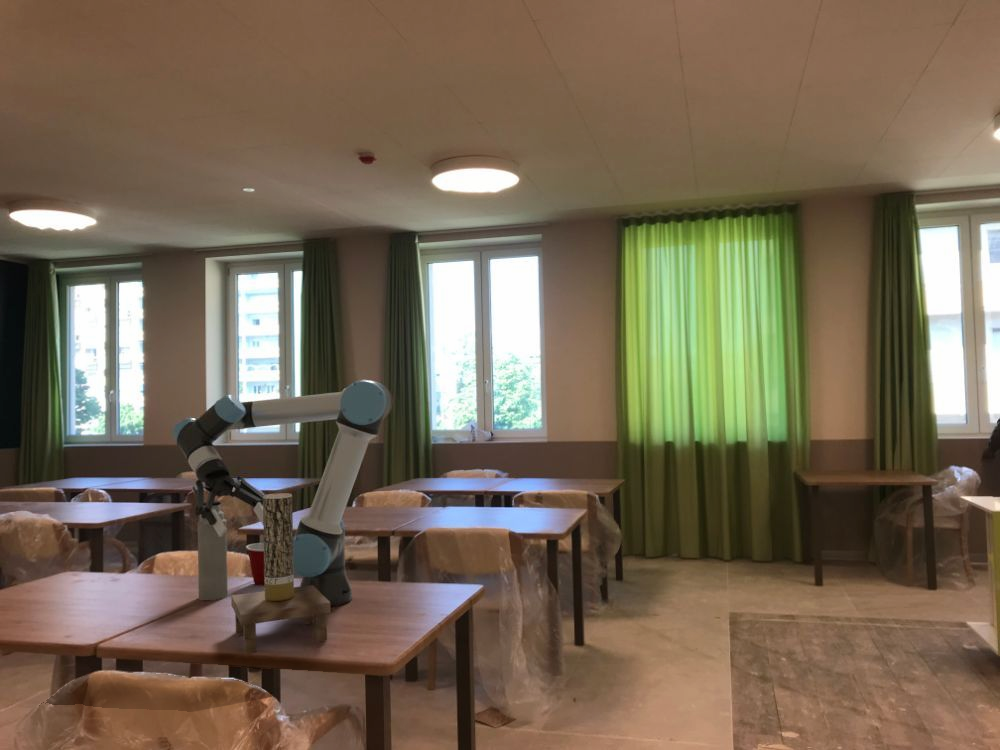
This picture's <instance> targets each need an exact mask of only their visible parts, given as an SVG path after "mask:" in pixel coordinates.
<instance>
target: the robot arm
mask: <svg viewBox="0 0 1000 750" xmlns="http://www.w3.org/2000/svg"><path fill="white" fill-rule="evenodd" d="M392 407H393V397H392V393H391V391H390V389H389V388H388V387H387V386H386V385H385V384H383V383H381V382H378V381H374V380H369V379H359V380H356V381H354V382H352V383H351V384H350V385H348V386H347V387H345V388H343V390H342V391H339V392H327V393H321V394H312V395H311V394H309V395H302V396H301V395H299V396H291V397H282V398H273V399H272V398H271V399H263V400H253V401H240V400H239V399H238V398H237V397H235V396H234V395H232V394H225V395H224V396H223V397H221V398H219V399H218V400H217V401H216V402H215V403H214V404H213V405H211V407H210V408H208V409H207V410H206V411H204V413H203V414H201V415H200V416H199V417H198V418H194V417H187V418H184V419H183V420H180V421H178V422H177V423H176V424H175V425H174V427H173V428H172V433H171V434H172V436H173V439H174V440H175V443H176V446H177V447H178V448H179V449H180V452H181V453H182V454H183V455H184V457H185V459H186V461H187V463H188V464H189V467H190V468H191V470H192V471H193V473H194V474H195V476H196V478H197V479H196V481H195V483H194V485H193V486H192V489H193V492H194V514H195V516H200V514H201V517H202V518H203V519H205V518H206V519H207V520H208V522H209V524H210V525H213V527H214V528H215V530H216V532H217V534H218V535H219V537H222V536H223V534H224V533H225V531H226V530H227V531H228V528H226V527H225V525H224V523H223V522H222V520H221V518H220V517H219V515H218V513H217V512H216V510H215V509H213V510H212V511H211V508H212V505H213V503H214V501H215V500H216V497H219V498H220V497H222V496H224V497H226V496H230V497H232V498H236V499H239V500H241V501H242V502H245V504H248V505H249V506H251V507H253V509H252V511H254V513H255V515H256V516H257V517H258V519H259V522H260V523H261V524H262V526H263V527H264V525H263V495H264V494H263V493H262V492H260V491H259V490H258V489H256V488H255V487H254V486H252V485H251V484H250V483H249V482H248V481H247V480H246V479H244V477H243V476H242V475H238V476H237V477H236V478H235V477H234V478H233V477H231V476H230V475H231V474H230V472H229V468H228V466H227V465H226V463H225V462H224V461H223V460H222V459H223V458H222V457H221V456H220V454H219V453H218V451H217V449H216V448H215V445H214V444H213V443H214V442H216V440H218V439H219V438H220V437H221V436H223V435H224V434H225V433H227V431H231V430H232V431H233V430H245V429H251V428H253V429H254V428H260V427H271V426H281V425H292V424H299V423H300V424H301V423H308V422H310V423H311V422H319V421H320V422H321V421H329V420H330V421H331V420H335V423H336V425H337V427H338V433H336V434H337V435H336V438H335V440H334V442H333V446H332V448H331V451H330V454H329V457H328V458H327V459H328V460H327V462H326V465H325V467H324V470H323V474H322V476H321V479H320V482H319V485H318V487H317V490H316V493H315V494H314V495H315V496H314V498H313V501H312V503H311V506H310V509H309V512H308V514H307V515H304V516H302V517H301V518H300V519H299V523H298V526H297V528H296V531H295V534H294V535H293V566H294V574H296V575H297V576H300V577H302V579H301V582H300V586H299V587H301V586H309V585H313V586H314V587H315V588H316V589H317V590H318V591H319V592H320V593H321V594H322V595H323V596H324V597H325V598H326V599H327V600H328V601H329V602H330V607H335V606H339V604H340V605H344V604H347V603H349V602H350V601H352V599H353V590H352V587H351V584H350V582H349V578H348V575H347V573H346V547H345V546H346V540H345V536H346V535H345V532H346V528H345V522H344V520H343V519H342V517H343V515H344V512H345V510H346V507H347V504H348V502H349V499H350V496H351V493H352V492H353V491H352V490H353V487H354V485H355V482H356V480H357V478H358V473H359V472H360V468H361V465H362V462H363V461H364V457H365V455H366V451H367V448H368V446H369V443H370V441H371V440H372V439H375V438H376V437H378V435H379V431H380V429H381V427H382V425H383V421H384V419H386V417H387V416H389V414H390V413H391V411H392ZM204 490H206V491H207V492H209V494H208V496H207V501H206V502H207V503H206V505H205V507H204V502H205V501H204V500H205V496H204V495H205V493H204V492H205V491H204ZM334 605H335V606H334Z"/></svg>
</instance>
